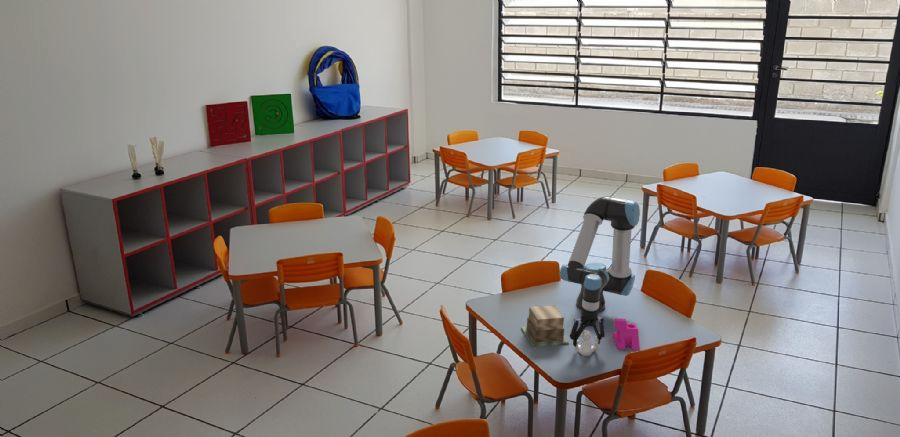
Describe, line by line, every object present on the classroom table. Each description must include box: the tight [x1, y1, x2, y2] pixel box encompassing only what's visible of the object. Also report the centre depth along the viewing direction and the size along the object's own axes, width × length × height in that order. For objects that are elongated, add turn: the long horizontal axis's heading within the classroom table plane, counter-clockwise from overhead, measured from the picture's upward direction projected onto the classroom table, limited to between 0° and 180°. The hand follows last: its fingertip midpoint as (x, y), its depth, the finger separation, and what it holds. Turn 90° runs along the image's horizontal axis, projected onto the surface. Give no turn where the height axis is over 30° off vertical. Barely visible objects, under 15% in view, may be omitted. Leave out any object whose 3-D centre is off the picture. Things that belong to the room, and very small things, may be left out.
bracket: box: [612, 318, 641, 351], centre depth 341 cm, size 12×10×10 cm
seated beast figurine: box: [578, 330, 595, 357], centre depth 331 cm, size 10×9×12 cm
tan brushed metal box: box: [521, 304, 570, 348], centre depth 345 cm, size 18×18×13 cm
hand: (585, 350), depth 333 cm, fingers open, 9 cm apart
